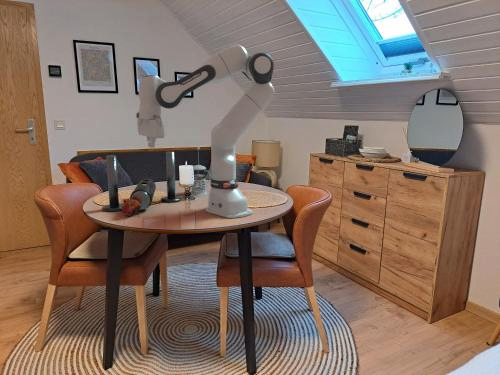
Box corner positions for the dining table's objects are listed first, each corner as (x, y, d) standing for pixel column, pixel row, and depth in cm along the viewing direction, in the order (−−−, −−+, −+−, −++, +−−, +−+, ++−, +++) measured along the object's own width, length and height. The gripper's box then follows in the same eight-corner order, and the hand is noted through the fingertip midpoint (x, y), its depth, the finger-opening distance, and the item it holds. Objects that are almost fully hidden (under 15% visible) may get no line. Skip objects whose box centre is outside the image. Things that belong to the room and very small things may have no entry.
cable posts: (185, 200, 178) (184, 152, 173) (106, 213, 155) (102, 158, 150) (176, 196, 185) (174, 150, 180) (99, 207, 162) (95, 155, 157)
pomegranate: (143, 218, 156) (129, 202, 158) (149, 207, 152) (134, 191, 154) (130, 224, 150) (115, 208, 152) (135, 213, 146) (120, 196, 148)
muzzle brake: (156, 197, 184) (156, 177, 182) (152, 212, 157) (151, 189, 155) (137, 197, 183) (136, 177, 180) (129, 213, 156) (128, 190, 154)
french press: (187, 191, 197) (186, 146, 192) (207, 190, 202) (207, 145, 197) (192, 195, 189) (191, 148, 183) (213, 193, 193) (213, 147, 188)
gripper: (168, 115, 146) (168, 149, 149) (148, 114, 162) (149, 144, 165) (153, 115, 143) (154, 150, 146) (134, 113, 158) (135, 145, 161)
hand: (151, 147), depth 156 cm, fingers closed
